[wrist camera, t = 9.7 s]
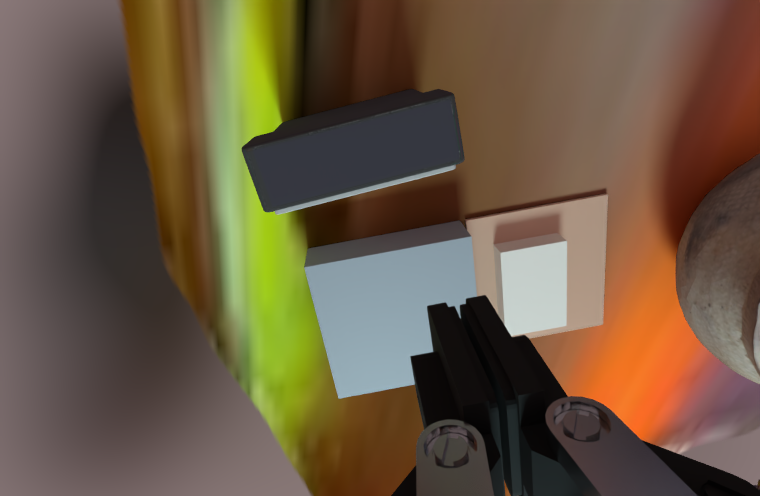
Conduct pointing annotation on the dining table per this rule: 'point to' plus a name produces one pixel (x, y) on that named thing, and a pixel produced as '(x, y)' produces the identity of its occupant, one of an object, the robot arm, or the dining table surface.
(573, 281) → the mat
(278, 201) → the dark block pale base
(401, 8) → the dining table surface
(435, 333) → the robot arm
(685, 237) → the ceramic bowl
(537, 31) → the dining table surface
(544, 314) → the tile
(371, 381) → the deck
